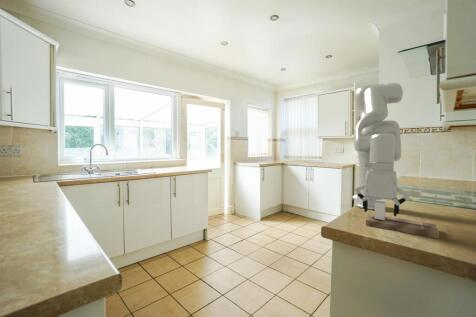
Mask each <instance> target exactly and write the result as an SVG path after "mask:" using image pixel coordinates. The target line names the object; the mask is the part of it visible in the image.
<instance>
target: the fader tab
mask: <svg viewBox="0 0 476 317" xmlns="http://www.w3.org/2000/svg"><path fill="white" fill-rule="evenodd" d="M386 202H387V201H386V200H382V199H381V200H376V202H375V210H374V215H375V219H381V220H384V219H385V217H386V206H387V204H386Z"/></svg>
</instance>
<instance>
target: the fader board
mask: <svg viewBox="0 0 476 317" xmlns="http://www.w3.org/2000/svg"><path fill="white" fill-rule="evenodd" d="M365 226H369V227H373V228H378V229H379V228H380V229H384V230H390V231H395V232H401V233H406V234H412V235H417V236H423V237H429V238H433V239H440V231H439V229H438V227H437V224H435V223H429V222H423V221H418V220H417V221H416V220H409V219H404V218H398V217H391V216H385V219H384V220H381V219H375V214H371V213H368V215H367V217H366V219H365Z"/></svg>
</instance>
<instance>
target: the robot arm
mask: <svg viewBox="0 0 476 317" xmlns="http://www.w3.org/2000/svg"><path fill="white" fill-rule="evenodd" d="M403 96H404V90H403V87H402V85H401V84H400V83H398V82H388V83H377V84H370V85H363V86H360V87H359V88H357V89H355V92H354V100H355V105H356V108H357V111H358V112H359V115H360V116H359V117H360V119H359V121H358V122H357V123H356V125H355V127H354V130H353V146H354V150H355V151H356V152H357V156H358V166H359V167H358V169H359V170H358V173H359V174H358V187H356V188H355V189H354V192H355V193H356V194H354V195H353V196H352V199H353V200H356V201H355V203H354V205H355V207H358V208H360V209H363V210H364V212H365V213H366V212H368V210H374V211H375V202H376V200H382V199H384V200H392V201H393V202H394V205H393V216H394V217H397V215H399V214H400V206H401V205H402V204H403V203H405V202H406V201H407V200H408V199H409V197H410V195H411V194H410V193H408V192H407V191H405V190H404V189H401V188H400V187H398V175H397V171H395V168H394V167H395V162H398V161H400V160H401V157H402V144H401V143H402V142H401V141H402V140H401V129H400V125H399V123H398V122H397V121H396V120H391V119H388V120H385V119H387V117H388V116H389V110H388V105H389V104H399V103H400V102H401V101H402V99H403ZM398 193H399V194H401V195H403V196H402V197H401V198H400V199H399V198H398Z"/></svg>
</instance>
